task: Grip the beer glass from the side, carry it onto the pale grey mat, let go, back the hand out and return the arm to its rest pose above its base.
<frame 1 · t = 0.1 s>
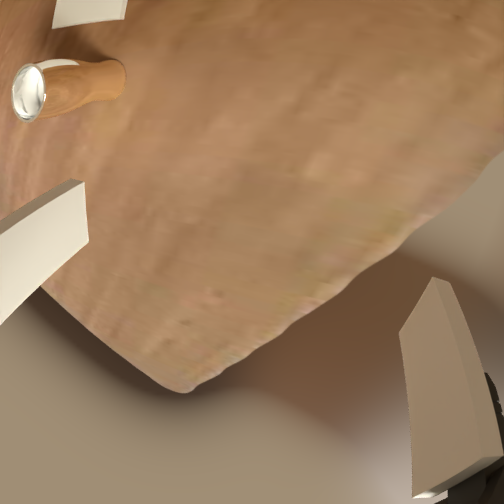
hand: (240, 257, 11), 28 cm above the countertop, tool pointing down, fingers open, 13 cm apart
beer glass: (110, 79, 35), on the countertop
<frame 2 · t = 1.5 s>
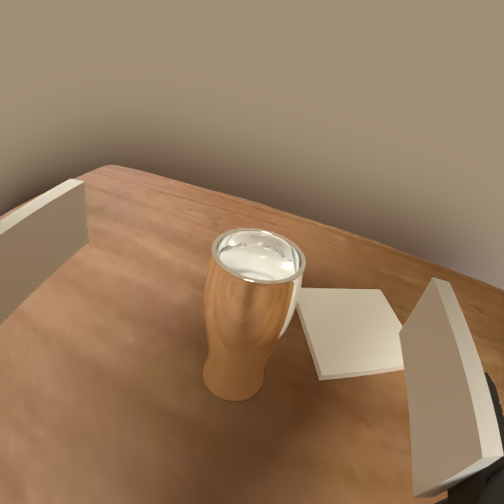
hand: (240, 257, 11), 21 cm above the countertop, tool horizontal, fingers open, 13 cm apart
beer glass: (232, 377, 30), on the countertop
mat: (354, 330, 38), on the countertop
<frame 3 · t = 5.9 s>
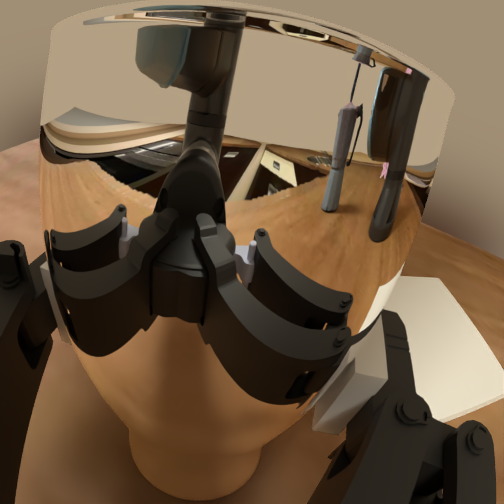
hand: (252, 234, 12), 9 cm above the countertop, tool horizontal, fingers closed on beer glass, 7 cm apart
beer glass: (194, 444, 13), on the countertop, touching gripper
mat: (416, 342, 21), on the countertop
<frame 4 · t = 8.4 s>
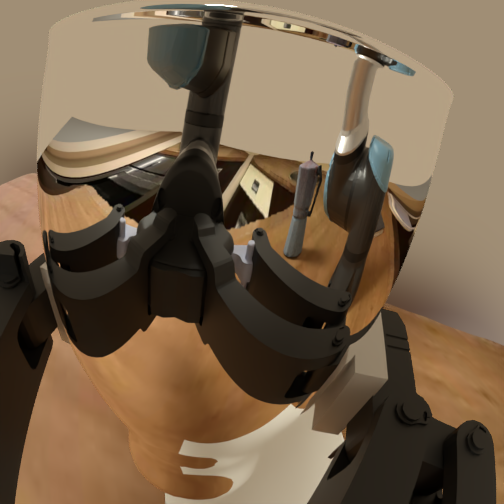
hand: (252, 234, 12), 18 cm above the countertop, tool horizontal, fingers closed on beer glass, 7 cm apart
beer glass: (194, 444, 13), point 9 cm above the countertop, touching gripper
mat: (259, 467, 20), on the countertop
when the fingers open (11 cm above the countertop, at t = 11.0 s): beer glass drops 1 cm, resting on mat.
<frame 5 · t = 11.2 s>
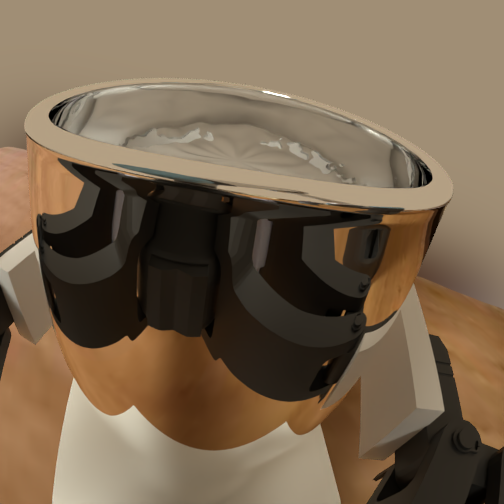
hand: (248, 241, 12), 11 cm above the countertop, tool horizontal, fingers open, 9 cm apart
beer glass: (194, 450, 13), point 1 cm above the countertop, touching mat
mat: (193, 456, 14), on the countertop
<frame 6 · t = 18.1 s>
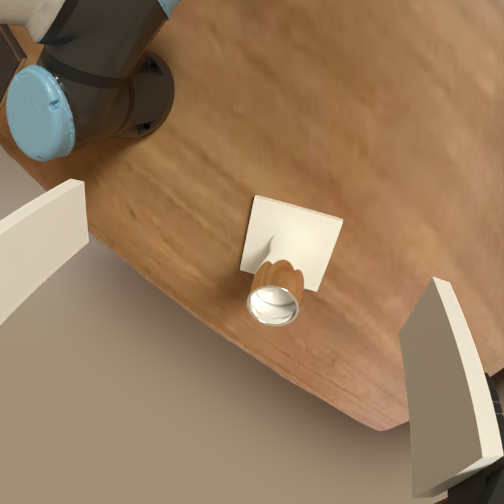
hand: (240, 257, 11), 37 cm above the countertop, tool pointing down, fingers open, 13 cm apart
beer glass: (288, 246, 51), point 1 cm above the countertop, touching mat
mat: (288, 244, 52), on the countertop
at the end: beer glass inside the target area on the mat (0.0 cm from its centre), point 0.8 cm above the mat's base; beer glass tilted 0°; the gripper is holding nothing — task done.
